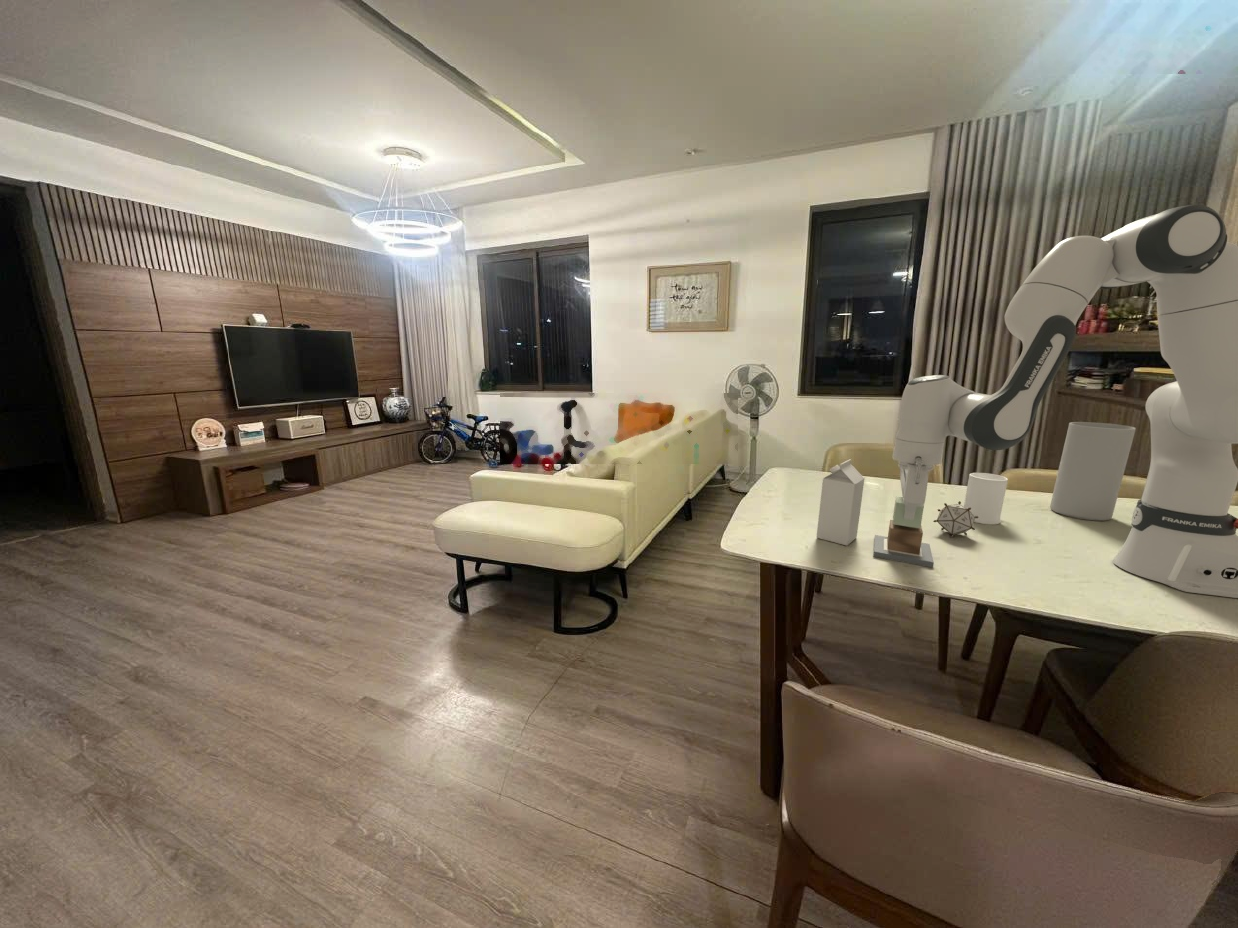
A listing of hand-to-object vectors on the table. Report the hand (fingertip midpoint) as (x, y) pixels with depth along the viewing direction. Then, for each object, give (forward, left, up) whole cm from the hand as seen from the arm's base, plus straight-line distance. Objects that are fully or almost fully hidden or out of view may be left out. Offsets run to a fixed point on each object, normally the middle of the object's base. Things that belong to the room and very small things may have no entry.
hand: (907, 514), depth 102 cm
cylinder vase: (-44, -55, -9) cm, 71 cm away
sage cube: (0, 0, -2) cm, 2 cm away
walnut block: (0, 0, -8) cm, 8 cm away
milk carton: (+14, -2, -9) cm, 17 cm away
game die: (-11, -19, -9) cm, 24 cm away
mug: (-20, -37, -9) cm, 43 cm away
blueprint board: (0, 0, -9) cm, 9 cm away
